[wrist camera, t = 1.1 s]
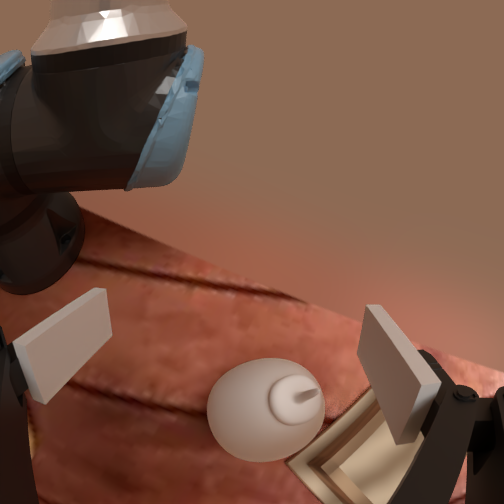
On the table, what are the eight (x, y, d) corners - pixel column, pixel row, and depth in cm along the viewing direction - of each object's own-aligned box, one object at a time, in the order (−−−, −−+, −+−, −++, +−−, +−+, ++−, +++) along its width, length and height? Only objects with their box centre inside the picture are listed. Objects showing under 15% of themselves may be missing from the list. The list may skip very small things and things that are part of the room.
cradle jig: (284, 462, 23) (299, 466, 20) (389, 366, 30) (412, 354, 27) (370, 548, 17) (392, 557, 14) (454, 450, 25) (479, 446, 21)
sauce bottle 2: (297, 439, 25) (420, 430, 10) (219, 464, 22) (257, 512, 8) (272, 368, 29) (358, 284, 14) (194, 388, 26) (195, 324, 12)
